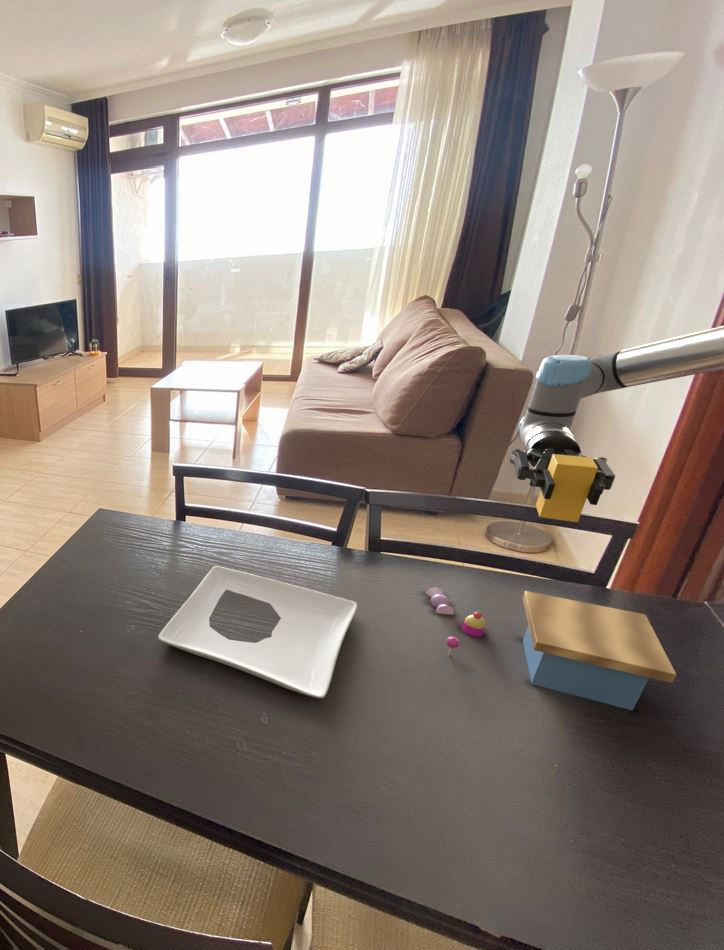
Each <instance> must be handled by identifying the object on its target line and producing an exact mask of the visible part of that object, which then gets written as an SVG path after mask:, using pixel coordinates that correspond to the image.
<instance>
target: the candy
mask: <svg viewBox="0 0 724 950" xmlns="http://www.w3.org/2000/svg"><path fill="white" fill-rule="evenodd" d="M425 594H426V596H427V597H429V598H430V600H429V603H430V605H431V606H432V607H434V608H436V610H435V612H436V614H440V615H454V614H455V610H454V607H452V606H450V600H449V598H448V597H446V595H444V592H443V589H442V588H440V587H437V586H433V587H429V588H428V589H427V590H426V591H425ZM482 609H483V608H482V607H480V609H479V610H478V611H475V612H473V614H470V615H468V616H466V617H465V619H464V622H463V625H462V628H461V629H462V631H463V632H464V633H466V634H467V635H469V636H472V637H482V636H483V635H484V631H485V628H486V626H487V623H486V620H485V619H484V618H483V614H482V613H481V611H482ZM445 643H446V645H447V646H448V647H449V649H448V653H447V656H451V654H452V650H453V649H457V648H459V646H460V640H459V639H458V638H457V637H455V636H448V637H447V639H446V640H445Z"/></svg>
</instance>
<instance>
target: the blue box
mask: <svg viewBox="0 0 724 950" xmlns="http://www.w3.org/2000/svg"><path fill="white" fill-rule="evenodd" d="M522 643H523V649H524V653H525V659H526V663H527V669H528V674H529V678H530V679H529V680H530V684H531V685H535V686H538V687H543V688H546V689H549V690H553V691H557V692H561V693H565V694H569V695H572V696H576V697H579V698H580V697H581V698H584V699H588V700H591V701H595V702H599V703H603V704H605V705H610V706H614V707H618V708H622V709H625V710H629V711H633V710H634V709H635V706H636V704H637V703H638V701H639V699H640V697H641V695H642V693H643V691H644V689H645V688H646V685H647V683H648V681H649V680H650V678H648V677H644V676H640V675H636V674H632V673H627V672H623V671H619V670H615V669H611V668H606V667H602V666H598V665H594V664H590V663H586V662H581V661H577V660H573V659H569V658H565V657H561V656H556V655H552V654H548V653H544V652H540V651H535V650H534V648H533V644H532V639H531V634H530V630H529V625H527V628H526V631H525V633H524V637H523V639H522Z"/></svg>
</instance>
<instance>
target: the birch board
mask: <svg viewBox="0 0 724 950" xmlns="http://www.w3.org/2000/svg"><path fill="white" fill-rule="evenodd" d="M522 602H523V606H524V611H525V615H526V620H527V624H528V625H529V630H530V634H531V639H532V644H533V648H534V650H535V651H540V652H544V653H548V654H552V655H556V656H561V657H565V658H569V659H573V660H577V661H581V662H586V663H590V664H594V665H598V666H602V667H606V668H611V669H615V670H619V671H623V672H627V673H632V674H636V675H640V676H644V677H648V678H649V679H653V680H657V681H660V682H666V683H669V684H672V683H673V682H674V680H675V679H676V677H677V672H676V671H675V669H674V667H673V665H672V663H671V661H670V659H669V657H668V655H667V654H666V652H665V650H664V648H663V645H662V644H661V642H660V640H659V638H658V635H657V634H656V632H655V629H654V628H653V625H651V622H650V620H649V619H648V616H647V615H646V614H644V613H639V612H634V611H629V610H625V609H620V608H614V607H609V606H605V605H599V604H594V603H590V602H584V601H579V600H574V599H568V598H563V597H558V596H553V595H548V594H543V593H538V592H533V591H529V590H524V593H523V595H522ZM528 625H527V626H528Z"/></svg>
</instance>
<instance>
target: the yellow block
mask: <svg viewBox="0 0 724 950" xmlns="http://www.w3.org/2000/svg"><path fill="white" fill-rule="evenodd" d="M593 459H594V458H593V457H589V456H586V457H580V456H569V455H558V454H553V455H552V458H551V461H550V464H549V467H548V471H550V474H551V476H552V478H553V481H554V483H555V487H554V490H553V493H552V496H551V499H544V496H543V494H542V491H541V490H540V491H539V494H538V496H537V501H536V503H535V508H536V511H537V514H538V517H539V518H544V519H551V520H559V521H565V522H573V523H578V522H579V520H580V517H581V515H582V512H583V509H584V507H585V504H586V501H587V500H588V499H587V496H588V493H589V490H590V488H591V485H592V483H593V480H594V477H595V474H596V472H597V469H598V467H597V466H596V464H595V463H594V461H593Z"/></svg>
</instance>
